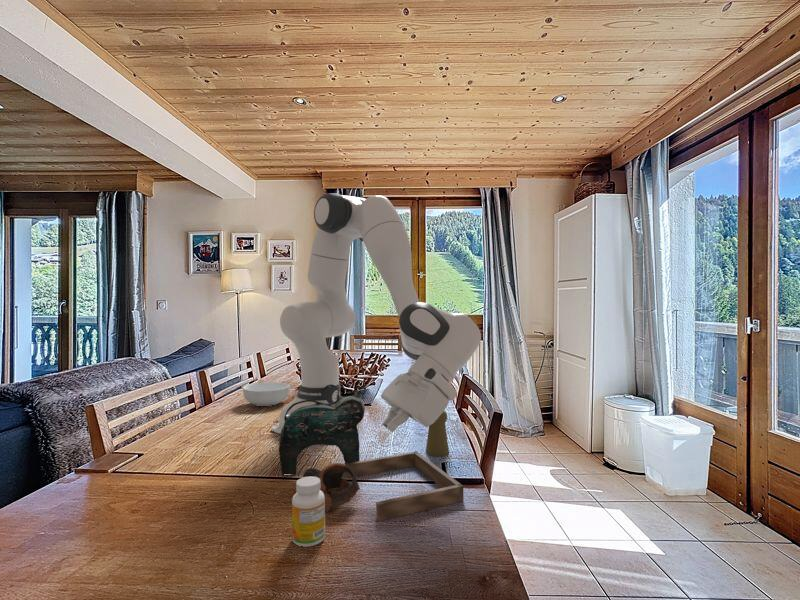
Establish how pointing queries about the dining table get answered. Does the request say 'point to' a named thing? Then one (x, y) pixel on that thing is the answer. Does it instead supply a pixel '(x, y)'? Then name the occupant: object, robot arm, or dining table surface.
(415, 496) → the wooden open frame
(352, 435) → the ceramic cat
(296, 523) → the supplement bottle
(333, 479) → the pottery mug
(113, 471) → the dining table surface
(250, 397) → the cereal bowl
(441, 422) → the cork
